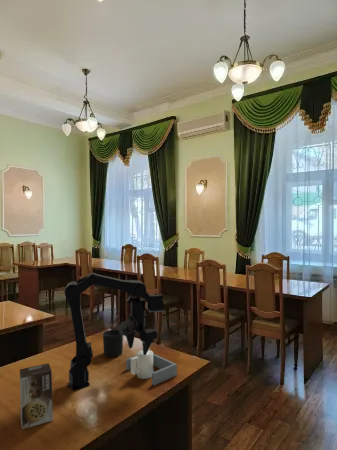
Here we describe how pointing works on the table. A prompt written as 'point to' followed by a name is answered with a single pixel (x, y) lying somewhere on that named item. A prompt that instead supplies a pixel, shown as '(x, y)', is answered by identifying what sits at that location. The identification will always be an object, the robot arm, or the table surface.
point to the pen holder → (112, 343)
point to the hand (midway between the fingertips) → (137, 351)
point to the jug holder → (165, 372)
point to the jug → (142, 364)
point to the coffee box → (36, 395)
